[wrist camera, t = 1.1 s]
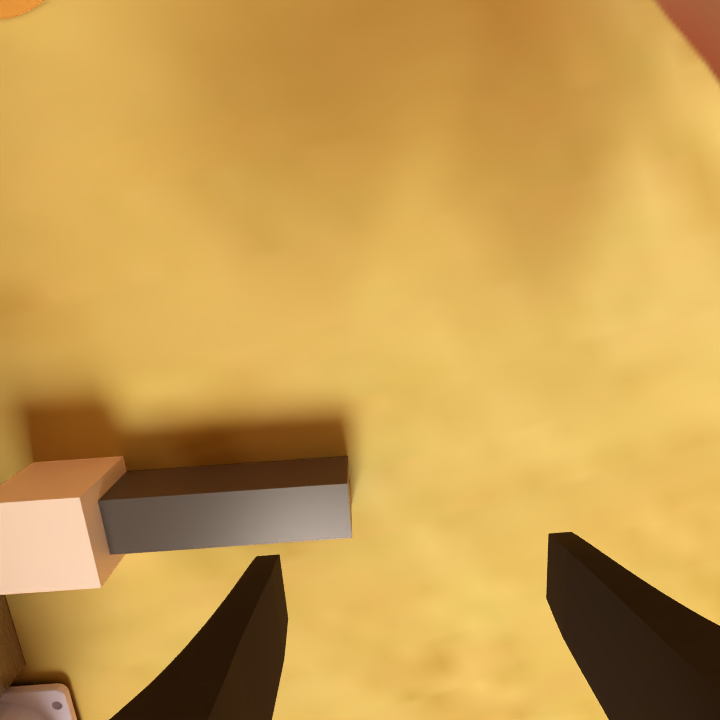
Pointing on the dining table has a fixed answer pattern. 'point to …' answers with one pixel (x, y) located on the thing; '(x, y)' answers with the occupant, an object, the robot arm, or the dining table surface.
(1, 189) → the dining table surface
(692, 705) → the robot arm
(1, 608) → the block
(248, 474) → the plug
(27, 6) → the beer glass
